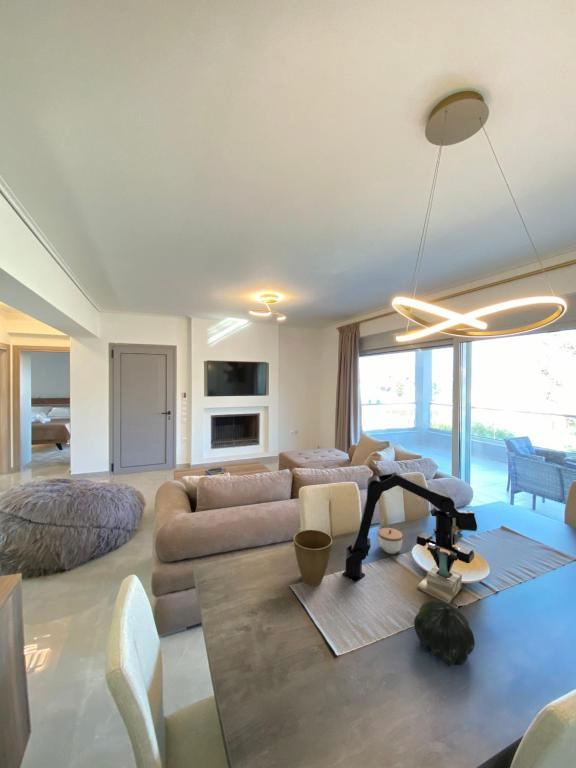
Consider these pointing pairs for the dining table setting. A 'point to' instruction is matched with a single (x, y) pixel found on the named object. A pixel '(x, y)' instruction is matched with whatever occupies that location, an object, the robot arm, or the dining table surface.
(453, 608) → the squash
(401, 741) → the dining table surface
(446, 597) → the socket board
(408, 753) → the dining table surface
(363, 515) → the robot arm
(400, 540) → the lidded jar
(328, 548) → the plant pot
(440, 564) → the peg
